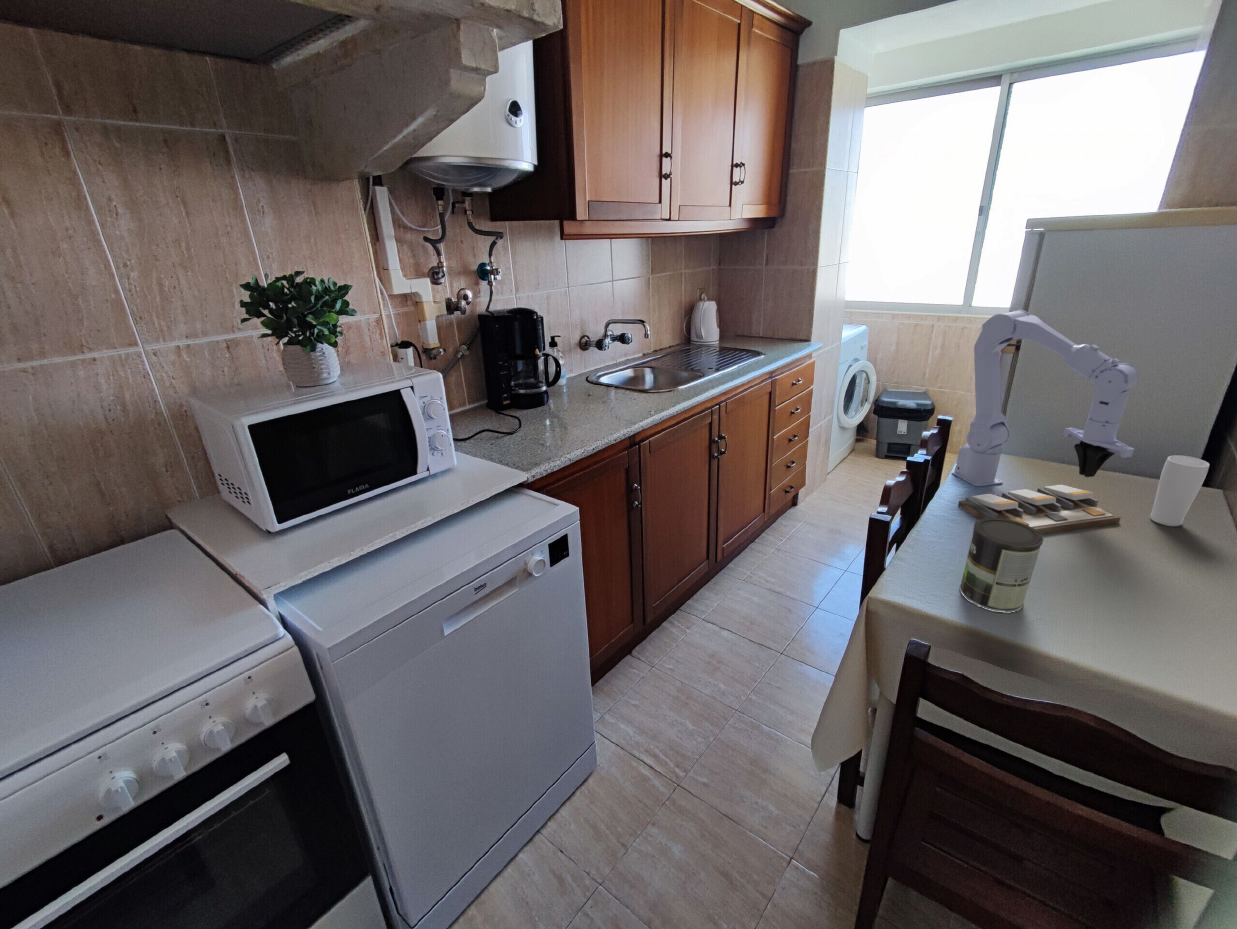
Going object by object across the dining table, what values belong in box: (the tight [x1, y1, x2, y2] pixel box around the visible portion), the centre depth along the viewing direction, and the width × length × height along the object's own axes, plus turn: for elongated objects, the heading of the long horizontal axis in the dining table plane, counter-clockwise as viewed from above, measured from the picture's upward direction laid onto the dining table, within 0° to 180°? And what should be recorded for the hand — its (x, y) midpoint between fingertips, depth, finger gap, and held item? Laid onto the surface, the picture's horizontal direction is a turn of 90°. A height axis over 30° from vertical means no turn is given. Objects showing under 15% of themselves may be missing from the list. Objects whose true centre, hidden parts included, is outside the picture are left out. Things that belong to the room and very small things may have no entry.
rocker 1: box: [971, 493, 1018, 510], centre depth 131 cm, size 8×5×1 cm, turn 10°
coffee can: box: [959, 518, 1044, 612], centre depth 102 cm, size 10×10×14 cm
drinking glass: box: [1149, 454, 1211, 527], centre depth 124 cm, size 7×7×15 cm
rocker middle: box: [1007, 488, 1056, 505], centre depth 133 cm, size 8×5×1 cm, turn 10°
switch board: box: [957, 487, 1121, 535], centre depth 132 cm, size 16×28×3 cm, turn 100°
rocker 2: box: [1043, 484, 1094, 500], centre depth 134 cm, size 8×5×1 cm, turn 10°
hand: (1086, 475), depth 129 cm, fingers closed
